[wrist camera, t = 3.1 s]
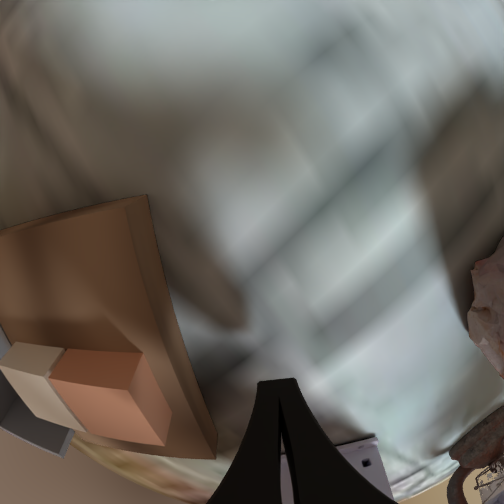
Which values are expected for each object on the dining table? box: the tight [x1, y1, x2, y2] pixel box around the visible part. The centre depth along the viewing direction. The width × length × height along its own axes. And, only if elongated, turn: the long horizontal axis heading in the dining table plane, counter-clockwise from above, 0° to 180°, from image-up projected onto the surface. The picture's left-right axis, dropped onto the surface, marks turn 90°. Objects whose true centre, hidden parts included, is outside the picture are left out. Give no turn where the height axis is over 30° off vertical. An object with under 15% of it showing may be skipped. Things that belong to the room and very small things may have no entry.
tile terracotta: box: [48, 349, 172, 446], centre depth 9 cm, size 4×4×2 cm
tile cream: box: [0, 342, 88, 432], centre depth 9 cm, size 4×4×2 cm
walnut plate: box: [0, 195, 218, 460], centre depth 11 cm, size 10×15×2 cm, turn 6°
